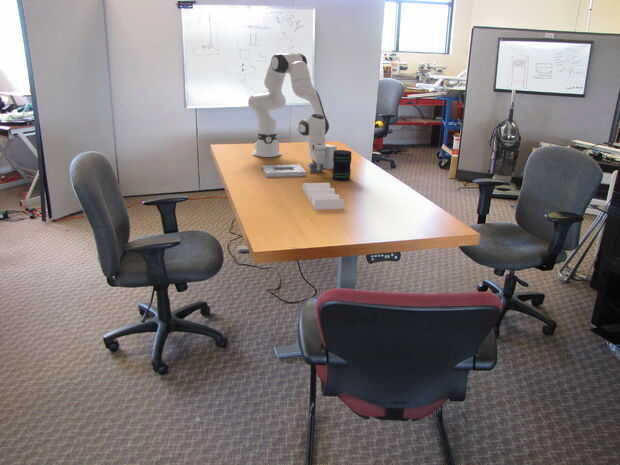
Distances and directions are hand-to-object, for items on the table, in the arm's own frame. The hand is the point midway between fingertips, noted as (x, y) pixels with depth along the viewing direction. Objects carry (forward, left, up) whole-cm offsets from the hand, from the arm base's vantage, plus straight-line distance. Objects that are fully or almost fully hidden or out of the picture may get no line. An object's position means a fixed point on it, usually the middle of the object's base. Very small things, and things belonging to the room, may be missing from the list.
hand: (316, 168), depth 292 cm
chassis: (+1, -19, -2) cm, 19 cm away
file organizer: (+51, -9, -3) cm, 52 cm away
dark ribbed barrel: (+18, +10, -2) cm, 21 cm away
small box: (-9, +9, -2) cm, 13 cm away
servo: (0, 0, -2) cm, 2 cm away
